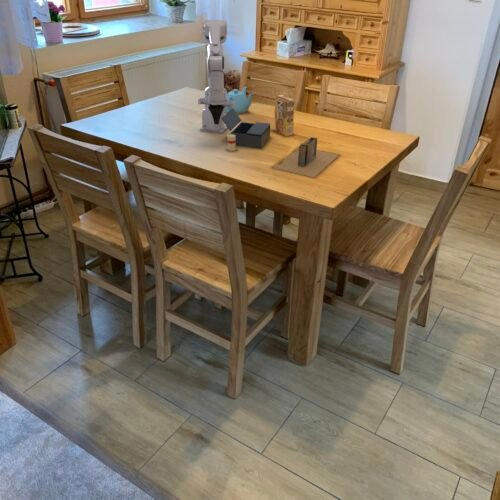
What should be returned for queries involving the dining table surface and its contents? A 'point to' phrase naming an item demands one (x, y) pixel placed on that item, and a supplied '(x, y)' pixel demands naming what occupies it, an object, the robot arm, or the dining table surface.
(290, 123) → the candy box
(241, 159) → the dining table surface
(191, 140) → the dining table surface
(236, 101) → the teapot
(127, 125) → the dining table surface
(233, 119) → the flap
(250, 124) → the carton
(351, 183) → the dining table surface
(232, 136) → the red-banded cylinder
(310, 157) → the architectural model on board
